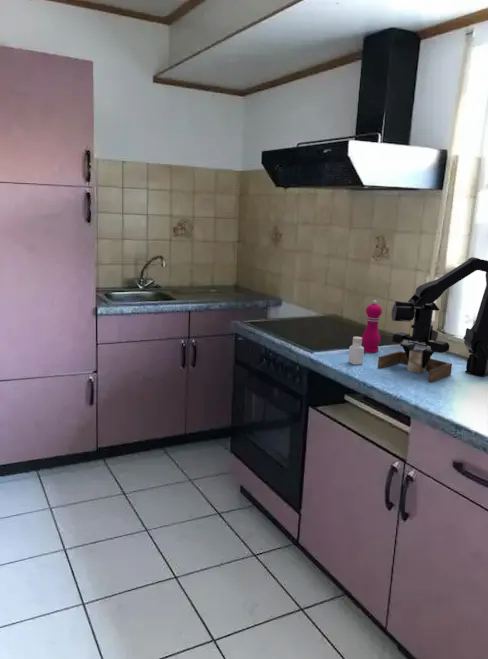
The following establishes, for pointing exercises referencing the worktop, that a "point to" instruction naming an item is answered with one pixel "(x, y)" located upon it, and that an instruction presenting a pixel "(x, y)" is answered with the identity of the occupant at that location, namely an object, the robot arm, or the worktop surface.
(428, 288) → the robot arm
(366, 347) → the pepper mill
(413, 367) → the maple block
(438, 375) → the wooden u-shaped frame
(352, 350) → the salt shaker
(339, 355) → the worktop surface
